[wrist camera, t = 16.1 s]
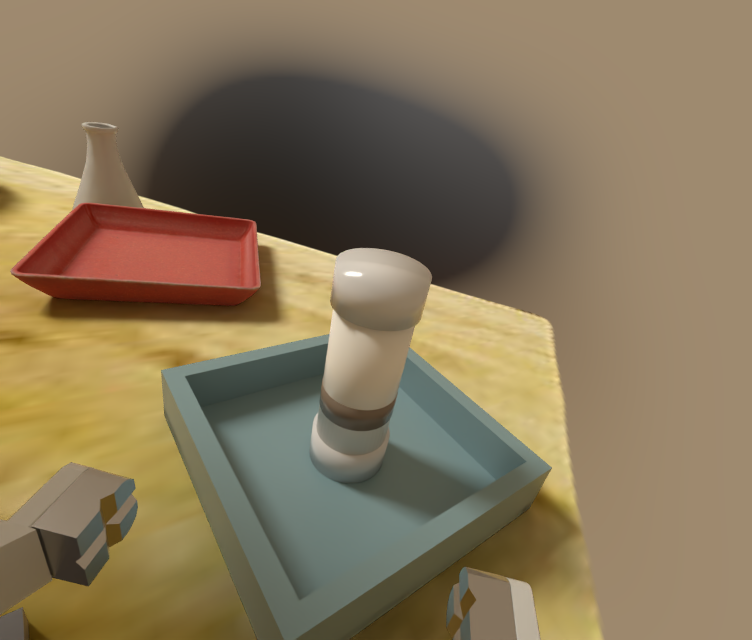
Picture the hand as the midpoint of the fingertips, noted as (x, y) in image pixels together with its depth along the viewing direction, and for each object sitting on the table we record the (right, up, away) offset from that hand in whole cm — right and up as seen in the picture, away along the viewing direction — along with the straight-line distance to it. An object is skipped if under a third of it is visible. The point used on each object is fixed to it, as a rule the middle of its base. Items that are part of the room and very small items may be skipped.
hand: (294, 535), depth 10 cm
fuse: (0, -3, +15) cm, 15 cm away
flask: (-30, +18, +42) cm, 54 cm away
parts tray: (0, -3, +15) cm, 16 cm away
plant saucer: (-19, +10, +33) cm, 39 cm away
